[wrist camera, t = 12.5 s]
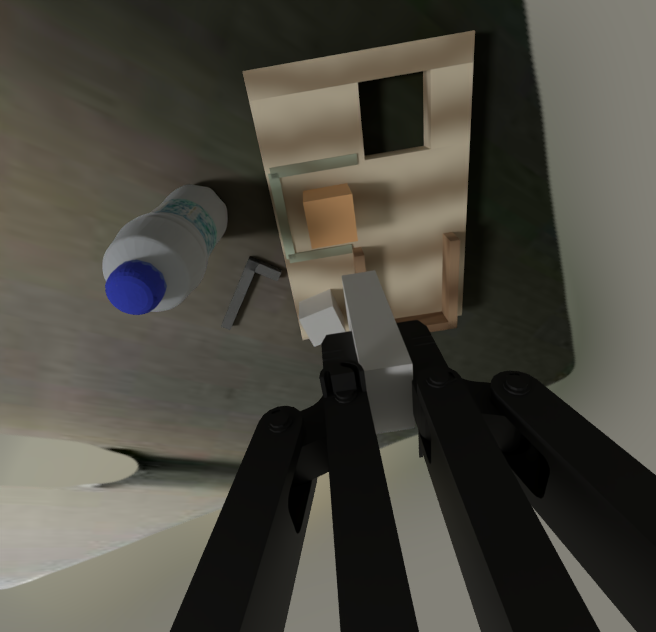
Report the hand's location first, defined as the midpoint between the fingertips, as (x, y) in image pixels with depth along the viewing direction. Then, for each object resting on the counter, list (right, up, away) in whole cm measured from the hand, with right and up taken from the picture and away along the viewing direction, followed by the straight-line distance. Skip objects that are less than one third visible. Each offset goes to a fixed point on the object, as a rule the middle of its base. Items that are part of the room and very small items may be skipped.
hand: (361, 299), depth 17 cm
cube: (-1, +10, +22) cm, 24 cm away
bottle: (-15, +11, +24) cm, 30 cm away
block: (-2, 0, +28) cm, 28 cm away
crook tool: (-11, +2, +29) cm, 32 cm away
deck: (+3, +11, +24) cm, 27 cm away
